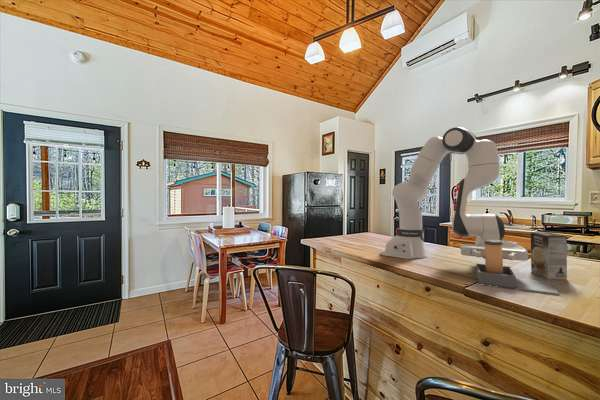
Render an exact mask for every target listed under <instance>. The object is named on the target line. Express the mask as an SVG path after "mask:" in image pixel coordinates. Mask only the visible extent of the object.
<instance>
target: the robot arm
mask: <svg viewBox="0 0 600 400" xmlns="http://www.w3.org/2000/svg"><path fill="white" fill-rule="evenodd" d="M448 154H455V155H457V154H458V155H465V156H466V158H467V172H466V175H465V177H464V178H462V179H461V180H460V182H459V185H458V191H457V196H456V203H455V209H454V210H455V211H454V215H453V217H452V221H451V229H452V232H453V233H454V234H455V235H457V236H459V237H476V238H475V243H474V244H473V243H463V244H462V245H460V246H459V250H460V255H462V256H466V257H476V258H483V259H484V260H485V243H484V241H486V240H494V241H501V242H502V256H503V260H508V261H523V262H526V261H528V259H529V252H528V250H527V249H526V248H525V247H523V246H521V245H519V243H518V242H514V241H508V240H503V239H504V238H505V236H506V234H505V233H506V230H505V225H504V221H503V219H502V218H501V217H500V216H499V215H497V214H495V213H480V214H479V213H475V214H472V213H471V214H470V213H469V214H467V213H466V208H467V203H468V197H469V195H471V193H472V192H474V191H476V190H478V189H481V188H484V187H486V186H489V185H491V184H492V183H494V182H495V181H497V180H498V178H499V176H500V170H501V169H500V167H501V166H500V157H499V152H498V148H497V145H496V143H495V141H492V140H489V139H480V140H478V138H477V136H476V135H475V134H474V133H473V131H471V130H470V129H467V128H464V127H463V126H462V127H461V126H454V127H451V128H449V129H447V130H446V132H445V133H444V134H443V136H442V137H441V136H432V137H430V138H429V139H428V140H427V142H425V144H424V145H423V147H422V148H421V149H420V151H419V152H418V155H417V157H416V159H414V162H413V164H412V165H411V167H410V175H409V178H408V181H401V182H400V183H398V184H396V185H395V186H394V187H393V189H392V197H393V199H394V200H395V203H396V206H397V209H398V210H397V211H398V217H399V227H397V228H396V230H395V235H394V236H393V237H391V239H389V240H387V242H386V243H385V248H384V249H383V250H381V251H380V255H382V256H386V257H392V258H400V259H407V260H413V259H423V258H426V257H427V253H426V250H425V246H424V245H425V244H424V240H425V239H424V238H425V237H424V236H425V234H424V229H423V214H422V212H421V210H420V206H419V202H421V201H423V199H425V197H426V196H427V191H428V188H429V186H430V184H431V182H432V179H433V177H434V175H435V174H436V172H437V170H438V168H439V167H440V164H441V163H442V161H443V159H444V158H445V157H446V156H447V155H448Z"/></svg>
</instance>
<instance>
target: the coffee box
mask: <svg viewBox="0 0 600 400" xmlns="http://www.w3.org/2000/svg"><path fill="white" fill-rule="evenodd" d="M567 238H568V236H567V235H563V234H558V233H554V232H550V231H549V232H548V231H547V232H544V231H543V232H540V231H538V232H537V231H535V232H530V269H531V270H530V271H532V272H531V273H533V272H534V274H536V275H538V276H540V277H543V278H545V279H547V280H568V256H567V255H568V249H567V248H568V244H567V242H568V239H567Z"/></svg>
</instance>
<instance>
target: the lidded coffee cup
mask: <svg viewBox="0 0 600 400" xmlns="http://www.w3.org/2000/svg"><path fill="white" fill-rule="evenodd" d="M484 243H485V259H484V260H485V261H484V262H485V263H484V264H485V265H486V273H495V274H503V266H504V259H503V256H502V242H501V241H494V240H486V241H484Z"/></svg>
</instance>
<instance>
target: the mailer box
mask: <svg viewBox="0 0 600 400" xmlns="http://www.w3.org/2000/svg"><path fill="white" fill-rule="evenodd" d="M475 267H476V269H475V270H476V277H477V282H478V285H479V284H484V285H483V286H486V285H491V286H490V287H493V286H498V287H497V288H500V287H502V289H510V290H515V289H516V288H517V289H516V290H517V291H524V292H529V293H530V292H532V293H537V294H538V293H540V294H546V295H554V296H560V292H559V291H557V289H556V288H555V287H554V286H552V284H550V282H549V281H546V280H545V281H544V280H538V279H537V280H536V279H528V278H520V277H517V276H516V275H515V273H514V272H513V270H512V269H511V267H510V266H505V265H503V274H495V273H486V265H485V263H484V264H483V263H476V266H475Z"/></svg>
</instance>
